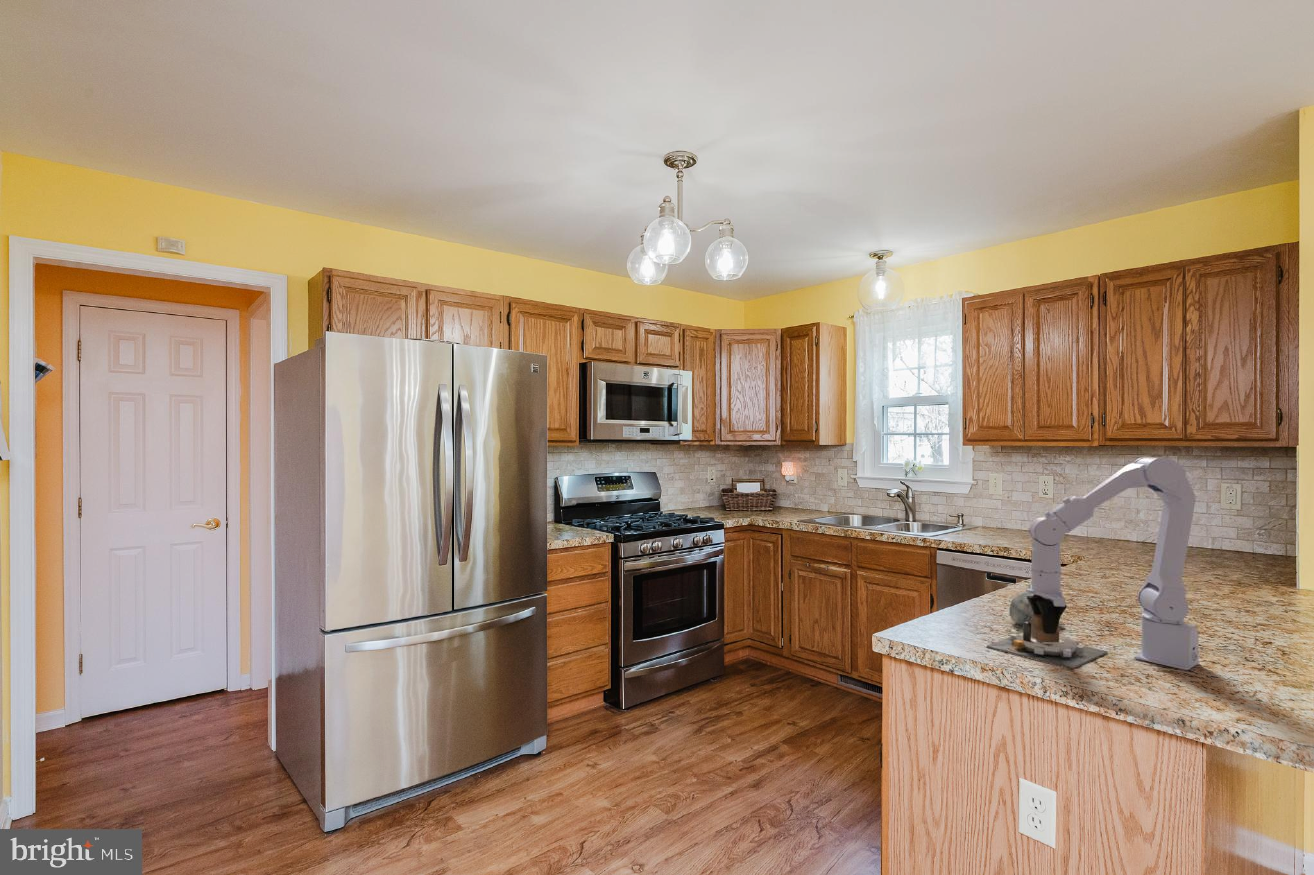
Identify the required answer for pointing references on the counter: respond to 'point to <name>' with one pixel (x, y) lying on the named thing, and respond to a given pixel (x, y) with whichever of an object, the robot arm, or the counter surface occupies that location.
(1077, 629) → the counter surface
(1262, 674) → the counter surface
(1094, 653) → the plate
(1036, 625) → the link block
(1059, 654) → the sprocket
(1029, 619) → the grey oval stone
